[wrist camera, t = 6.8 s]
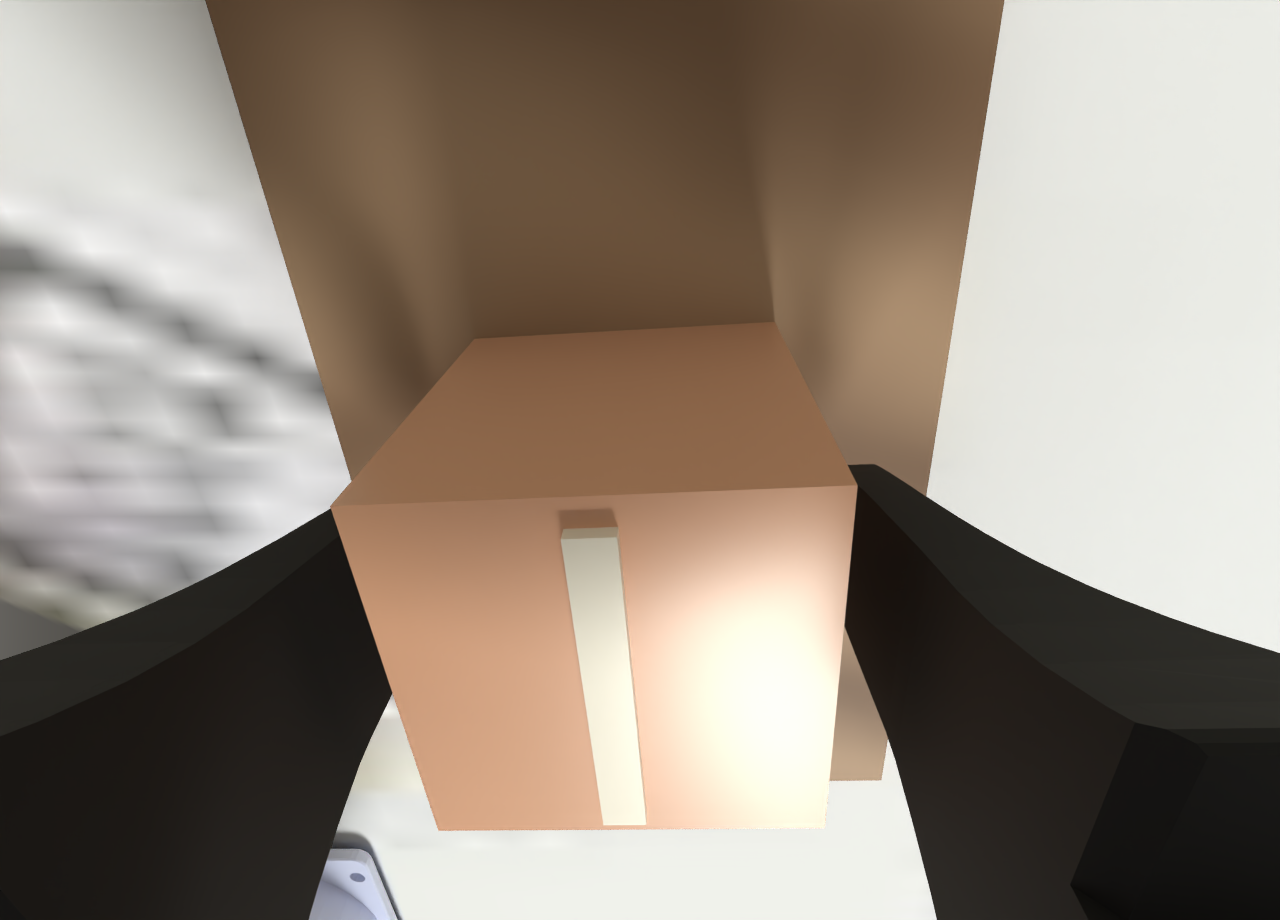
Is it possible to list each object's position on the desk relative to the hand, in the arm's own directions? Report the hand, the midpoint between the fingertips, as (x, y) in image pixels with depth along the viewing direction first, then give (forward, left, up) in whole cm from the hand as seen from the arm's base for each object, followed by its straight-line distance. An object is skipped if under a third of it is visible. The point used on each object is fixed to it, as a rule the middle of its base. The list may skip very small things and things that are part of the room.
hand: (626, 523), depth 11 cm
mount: (0, 0, -4) cm, 4 cm away
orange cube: (0, 0, -2) cm, 2 cm away
